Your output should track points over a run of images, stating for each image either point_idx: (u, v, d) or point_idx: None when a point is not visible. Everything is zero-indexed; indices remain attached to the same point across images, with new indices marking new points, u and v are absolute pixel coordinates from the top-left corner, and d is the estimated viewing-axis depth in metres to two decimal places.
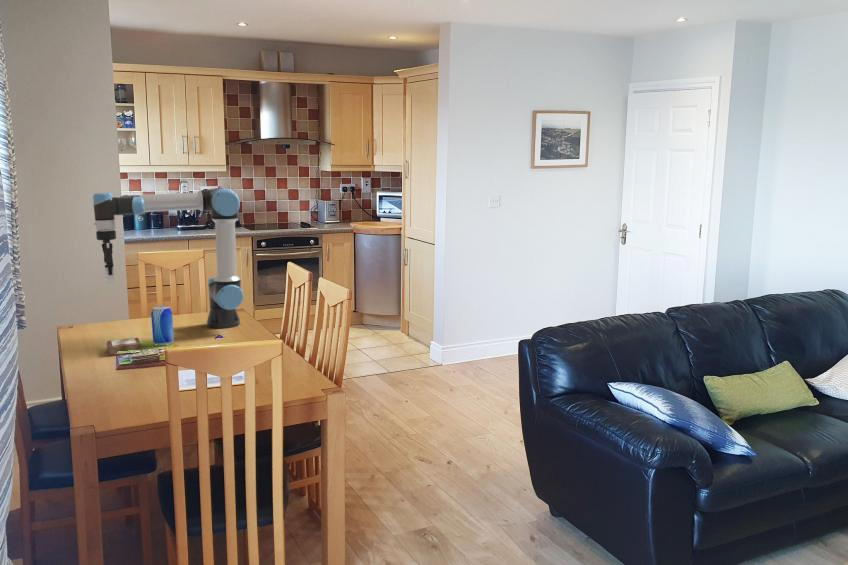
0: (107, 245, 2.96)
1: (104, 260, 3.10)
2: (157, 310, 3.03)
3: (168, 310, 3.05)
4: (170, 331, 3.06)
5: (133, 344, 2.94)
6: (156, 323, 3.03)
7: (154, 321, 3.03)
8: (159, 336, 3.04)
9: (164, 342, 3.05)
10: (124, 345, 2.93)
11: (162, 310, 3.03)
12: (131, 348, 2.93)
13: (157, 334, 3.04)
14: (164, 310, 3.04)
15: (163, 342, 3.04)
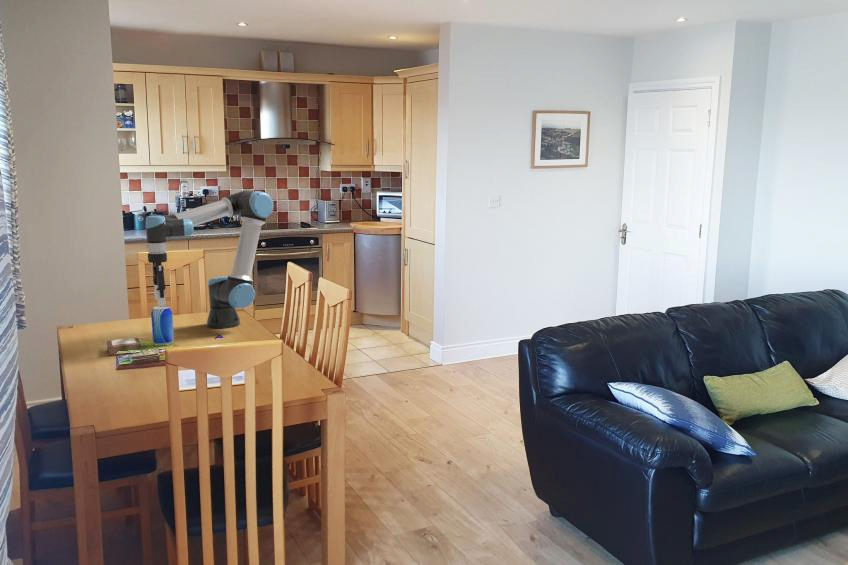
0: (159, 268, 2.97)
1: (153, 282, 3.11)
2: (157, 310, 3.03)
3: (168, 310, 3.05)
4: (170, 331, 3.06)
5: (133, 344, 2.94)
6: (156, 323, 3.03)
7: (154, 321, 3.03)
8: (159, 336, 3.04)
9: (164, 342, 3.05)
10: (124, 345, 2.93)
11: (162, 310, 3.03)
12: (131, 348, 2.93)
13: (157, 334, 3.04)
14: (164, 310, 3.04)
15: (163, 342, 3.04)
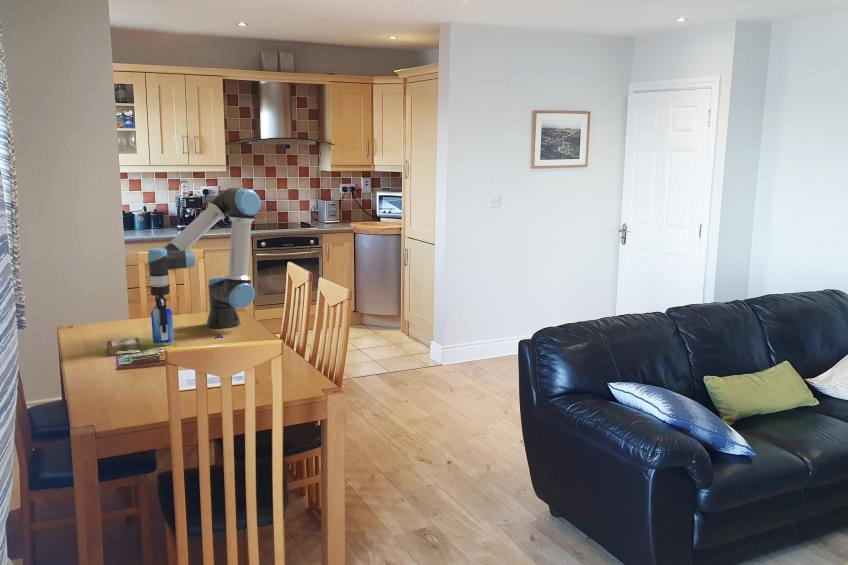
0: (162, 303, 2.99)
1: None
2: (157, 310, 3.03)
3: (168, 310, 3.05)
4: (170, 331, 3.06)
5: (133, 344, 2.94)
6: (156, 323, 3.03)
7: (154, 321, 3.03)
8: (159, 336, 3.04)
9: (164, 342, 3.05)
10: (124, 345, 2.93)
11: None
12: (131, 348, 2.93)
13: (157, 334, 3.04)
14: None
15: (163, 342, 3.04)
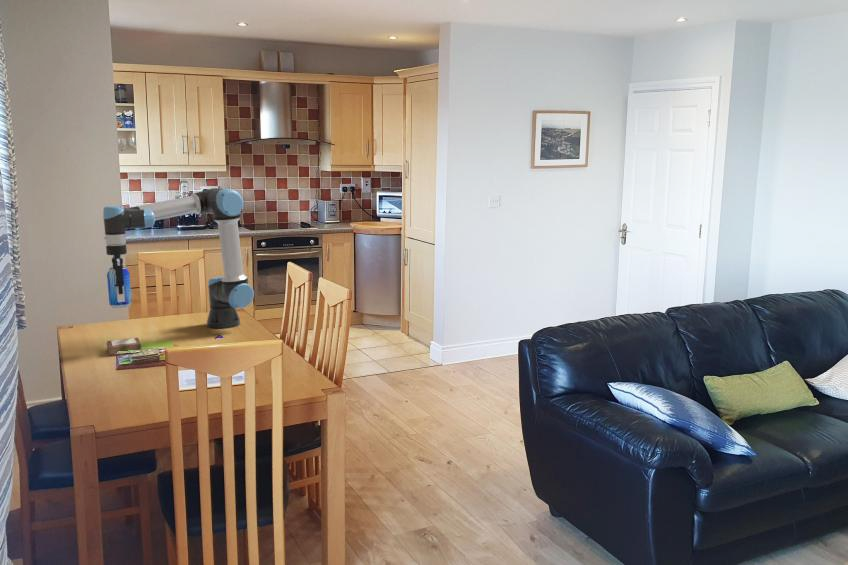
0: (118, 263, 2.86)
1: None
2: (113, 270, 2.89)
3: (125, 271, 2.91)
4: (127, 293, 2.92)
5: (133, 344, 2.94)
6: (111, 284, 2.89)
7: (110, 282, 2.89)
8: (115, 297, 2.90)
9: (120, 304, 2.91)
10: (124, 345, 2.93)
11: None
12: (131, 348, 2.93)
13: (113, 296, 2.90)
14: None
15: (119, 304, 2.91)
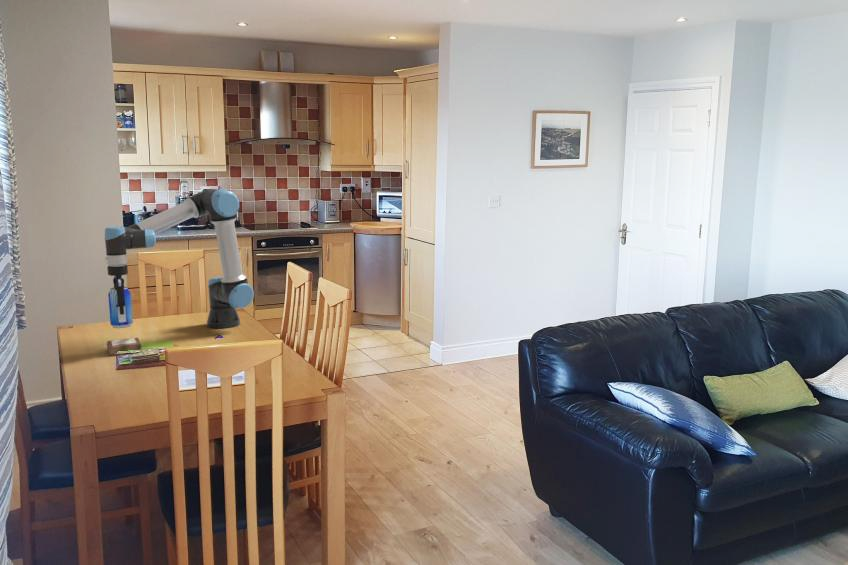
0: (119, 283, 2.87)
1: None
2: (114, 291, 2.90)
3: (126, 291, 2.93)
4: (128, 313, 2.93)
5: (133, 344, 2.94)
6: (113, 305, 2.91)
7: (111, 302, 2.91)
8: (116, 318, 2.91)
9: (122, 324, 2.92)
10: (124, 345, 2.93)
11: None
12: (131, 348, 2.93)
13: (114, 316, 2.91)
14: None
15: (121, 324, 2.92)
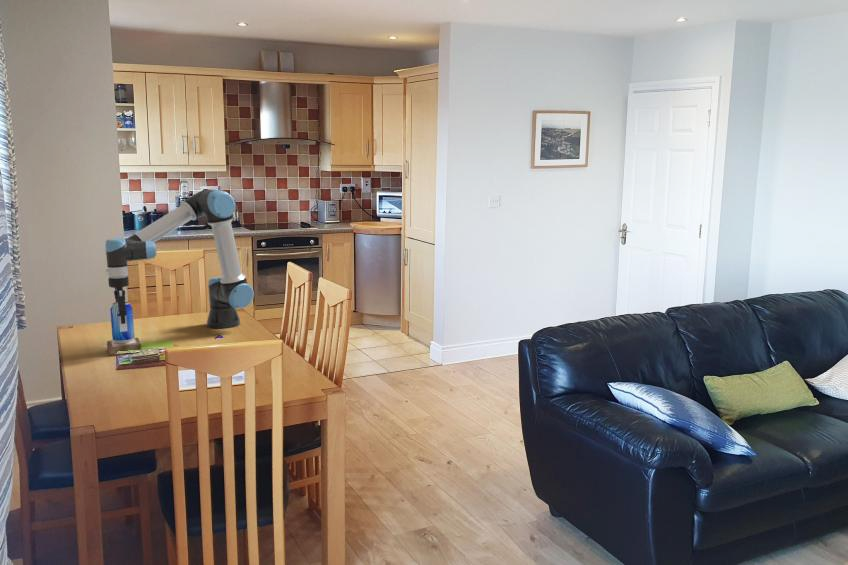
0: (120, 293, 2.88)
1: None
2: (116, 306, 2.92)
3: (128, 306, 2.94)
4: (130, 328, 2.95)
5: (133, 344, 2.94)
6: (115, 320, 2.92)
7: (113, 317, 2.92)
8: (118, 333, 2.93)
9: (123, 339, 2.93)
10: (124, 345, 2.93)
11: None
12: (131, 348, 2.93)
13: (116, 331, 2.93)
14: None
15: (122, 339, 2.93)
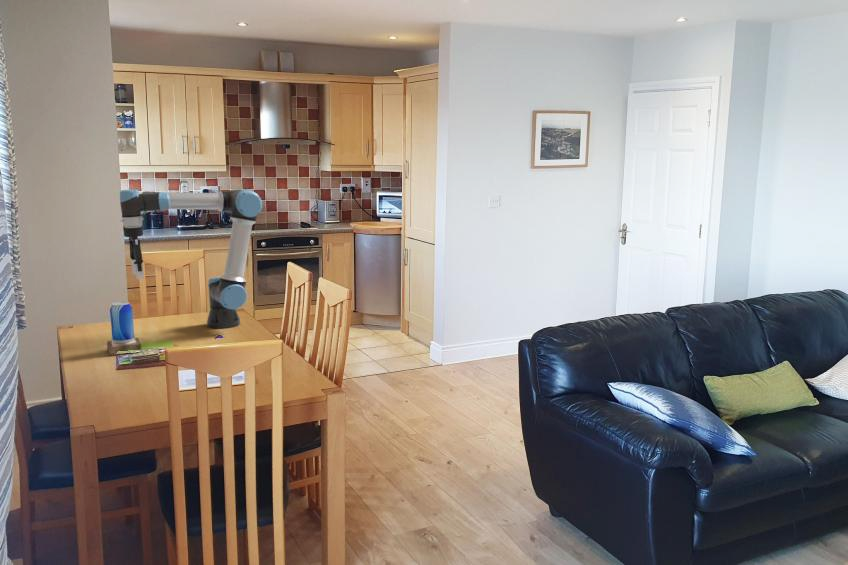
0: (136, 242, 2.98)
1: None
2: (116, 306, 2.92)
3: (128, 306, 2.94)
4: (130, 328, 2.95)
5: (133, 344, 2.94)
6: (114, 320, 2.92)
7: (113, 318, 2.92)
8: (118, 333, 2.93)
9: (123, 339, 2.93)
10: (124, 345, 2.93)
11: (121, 306, 2.92)
12: (131, 348, 2.93)
13: (116, 331, 2.93)
14: (123, 306, 2.92)
15: (122, 339, 2.93)
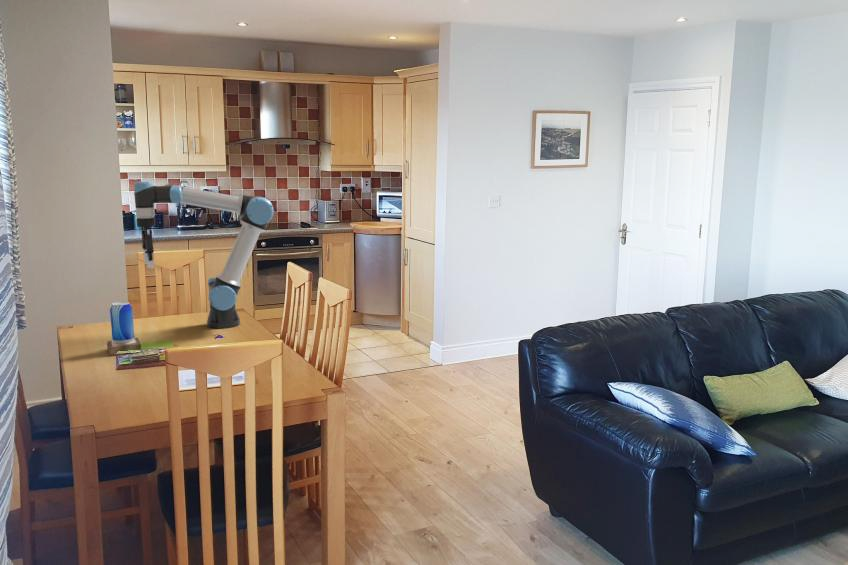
0: (147, 232, 3.08)
1: (143, 247, 3.22)
2: (116, 306, 2.92)
3: (128, 306, 2.94)
4: (130, 328, 2.95)
5: (133, 344, 2.94)
6: (114, 320, 2.92)
7: (113, 318, 2.92)
8: (118, 333, 2.93)
9: (123, 339, 2.93)
10: (124, 345, 2.93)
11: (121, 306, 2.92)
12: (131, 348, 2.93)
13: (116, 331, 2.93)
14: (123, 306, 2.92)
15: (122, 339, 2.93)
